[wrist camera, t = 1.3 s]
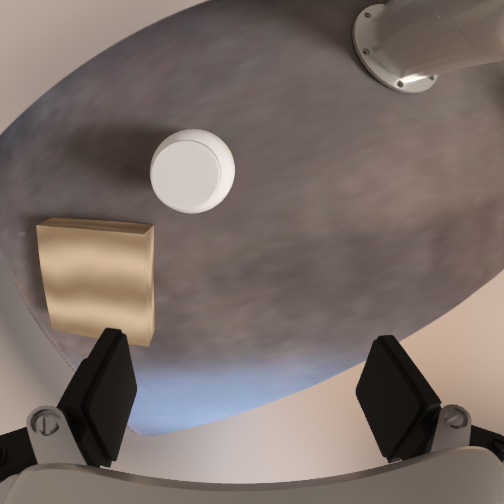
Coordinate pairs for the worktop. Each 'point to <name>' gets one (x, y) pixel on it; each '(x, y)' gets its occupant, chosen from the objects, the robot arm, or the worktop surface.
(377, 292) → the worktop surface
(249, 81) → the worktop surface
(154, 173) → the supplement bottle
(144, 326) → the block
